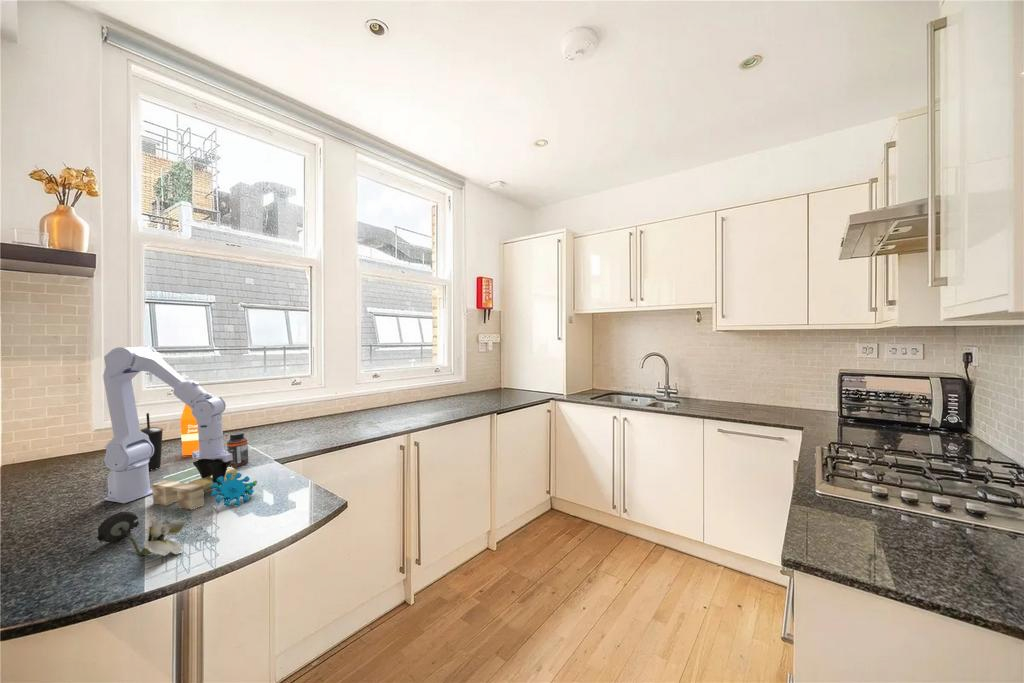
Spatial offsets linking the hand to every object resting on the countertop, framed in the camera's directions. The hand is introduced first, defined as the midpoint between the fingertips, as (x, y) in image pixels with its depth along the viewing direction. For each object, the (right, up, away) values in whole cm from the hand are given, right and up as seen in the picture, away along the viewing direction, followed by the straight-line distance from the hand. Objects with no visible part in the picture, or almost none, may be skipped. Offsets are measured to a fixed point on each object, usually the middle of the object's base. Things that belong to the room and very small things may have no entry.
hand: (213, 483), depth 113 cm
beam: (-3, -3, -9) cm, 10 cm away
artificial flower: (+9, -3, -30) cm, 32 cm away
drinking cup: (-39, -3, +21) cm, 45 cm away
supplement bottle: (-9, -2, +23) cm, 25 cm away
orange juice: (-36, -3, +39) cm, 54 cm away
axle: (0, 0, 0) cm, 1 cm away
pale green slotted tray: (-9, -2, +6) cm, 11 cm away
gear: (+13, -2, -8) cm, 15 cm away
